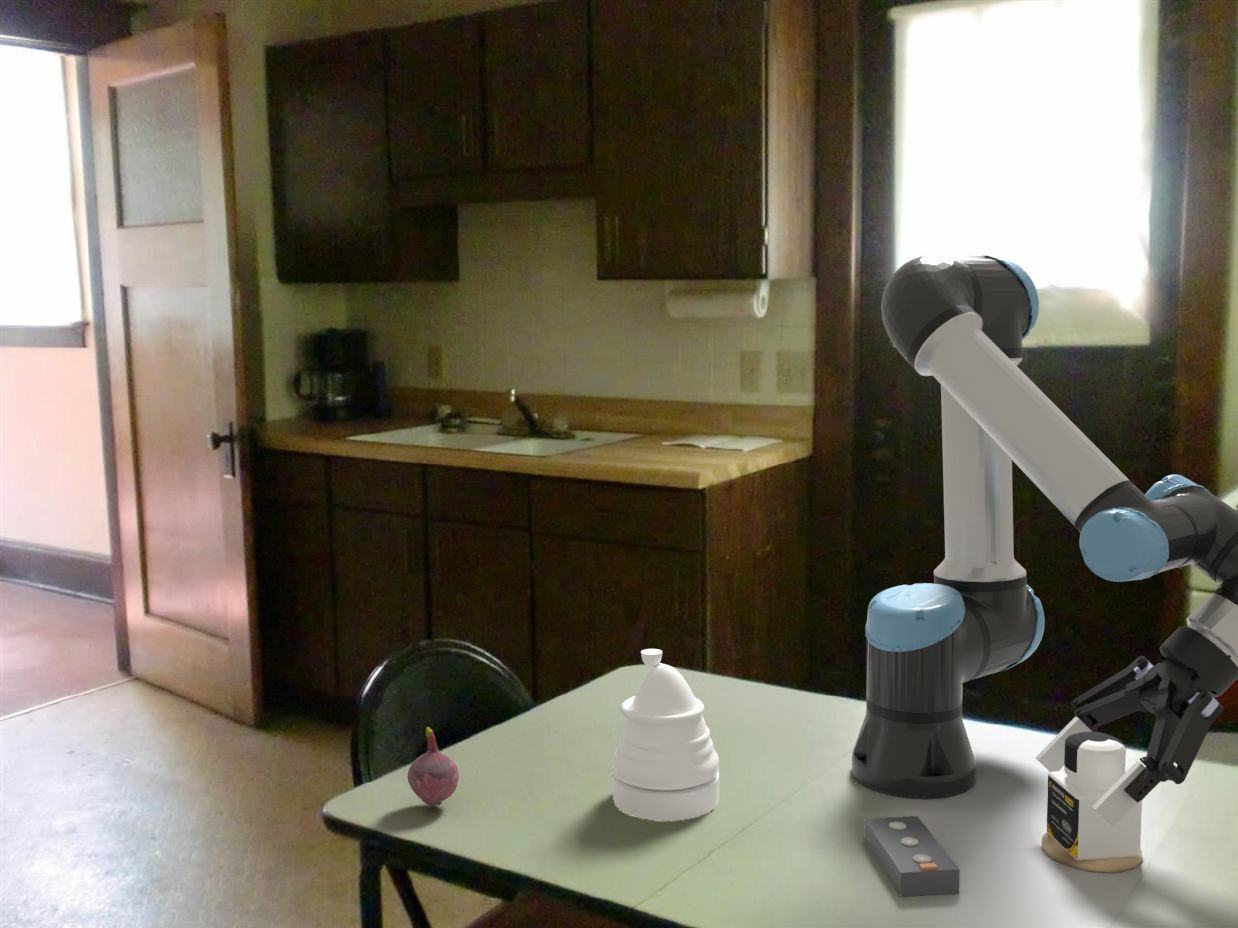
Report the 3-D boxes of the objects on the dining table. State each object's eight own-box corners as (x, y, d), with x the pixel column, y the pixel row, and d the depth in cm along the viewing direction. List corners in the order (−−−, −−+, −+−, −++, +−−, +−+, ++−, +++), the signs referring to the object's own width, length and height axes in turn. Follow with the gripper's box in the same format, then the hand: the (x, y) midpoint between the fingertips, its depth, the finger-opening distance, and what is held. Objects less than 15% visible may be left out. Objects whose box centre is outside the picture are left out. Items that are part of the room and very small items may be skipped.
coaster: (1029, 856, 128) (1030, 851, 128) (1056, 823, 136) (1056, 818, 136) (1129, 880, 122) (1129, 875, 122) (1151, 844, 130) (1151, 839, 130)
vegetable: (434, 793, 148) (431, 715, 147) (471, 804, 145) (468, 724, 143) (398, 810, 143) (394, 729, 142) (435, 821, 140) (432, 739, 138)
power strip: (864, 840, 132) (864, 815, 132) (917, 837, 133) (917, 813, 133) (900, 896, 120) (900, 869, 119) (959, 892, 120) (959, 866, 120)
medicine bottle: (1045, 832, 132) (1047, 727, 130) (1107, 829, 133) (1110, 724, 131) (1075, 862, 125) (1078, 751, 123) (1141, 857, 126) (1145, 747, 124)
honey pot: (590, 801, 145) (587, 656, 142) (660, 771, 154) (658, 634, 152) (672, 831, 136) (669, 677, 134) (741, 796, 145) (740, 652, 143)
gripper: (1312, 708, 115) (1156, 865, 116) (1172, 639, 140) (1045, 769, 141) (1261, 657, 114) (1105, 815, 115) (1130, 596, 139) (1002, 727, 140)
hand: (1071, 790), depth 128 cm, fingers open, 13 cm apart
